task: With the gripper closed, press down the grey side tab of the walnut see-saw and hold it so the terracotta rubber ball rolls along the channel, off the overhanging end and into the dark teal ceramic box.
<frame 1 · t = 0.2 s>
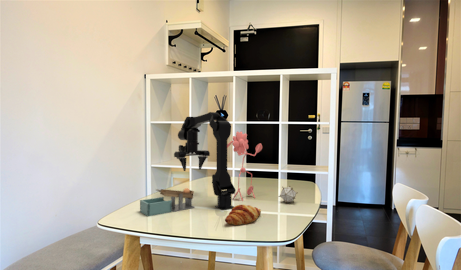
hand: (192, 170, 158), 14 cm above the table, fingers open, 9 cm apart
croissant: (244, 221, 118), on the table
figurine: (239, 197, 158), on the table
ball: (186, 191, 138), point 7 cm above the table, tilted 25°, touching lever
bin: (155, 211, 129), on the table
stand: (176, 208, 135), on the table
grey spiked polyhedron: (288, 203, 147), on the table
lever: (172, 190, 139), point 7 cm above the table, hinge at 12.0°, touching ball
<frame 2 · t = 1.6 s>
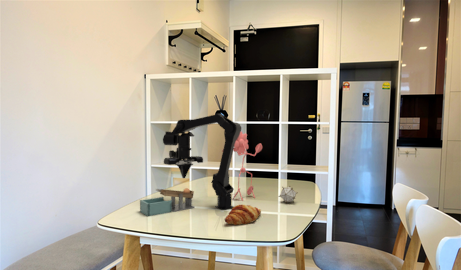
hand: (183, 178, 144), 12 cm above the table, fingers closed
nothing on the table moved.
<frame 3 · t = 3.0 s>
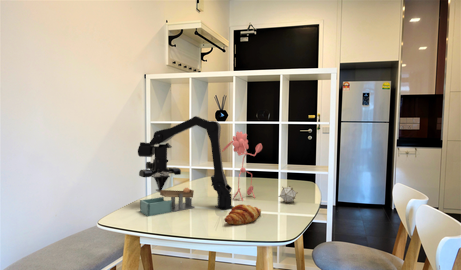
hand: (160, 190, 140), 7 cm above the table, fingers closed, pressing on lever
ball: (186, 191, 138), point 7 cm above the table, tilted 20°
lever: (172, 190, 139), point 7 cm above the table, hinge at 9.0°, touching gripper
everything else where it was.
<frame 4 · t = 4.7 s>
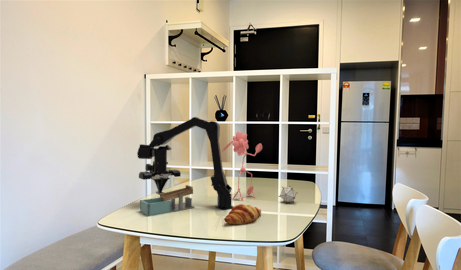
hand: (159, 192, 140), 6 cm above the table, fingers closed, pressing on lever
ball: (149, 208, 127), point 2 cm above the table, tilted 38°, touching bin
lever: (171, 190, 139), point 7 cm above the table, hinge at -6.0°, touching gripper
everything else where it was.
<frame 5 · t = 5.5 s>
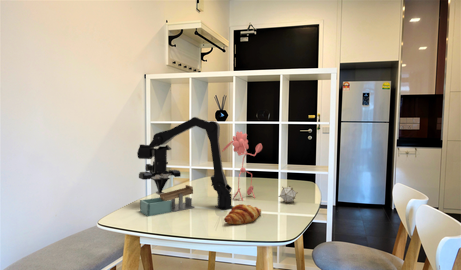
hand: (159, 192, 140), 6 cm above the table, fingers closed, pressing on lever
ball: (149, 208, 127), point 2 cm above the table, tilted 46°, touching bin
lever: (171, 190, 139), point 7 cm above the table, hinge at -6.5°, touching gripper
everything else where it was.
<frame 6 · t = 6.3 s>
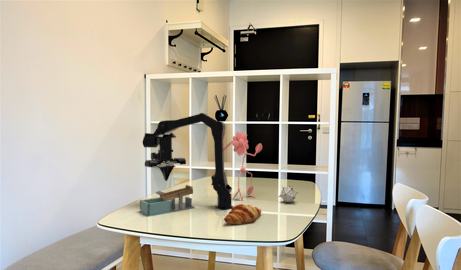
hand: (166, 180, 141), 12 cm above the table, fingers closed
ball: (150, 208, 128), point 2 cm above the table, tilted 53°, touching bin
lever: (171, 190, 139), point 7 cm above the table, hinge at -6.6°
everything else where it was.
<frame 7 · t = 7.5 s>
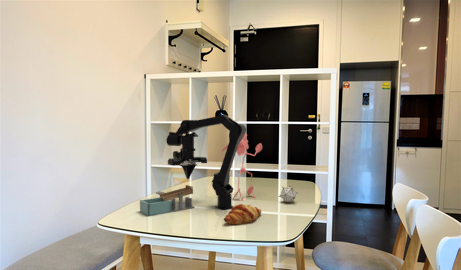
hand: (187, 178, 143), 12 cm above the table, fingers closed
ball: (150, 207, 128), point 2 cm above the table, tilted 64°, touching bin
everything else where it was.
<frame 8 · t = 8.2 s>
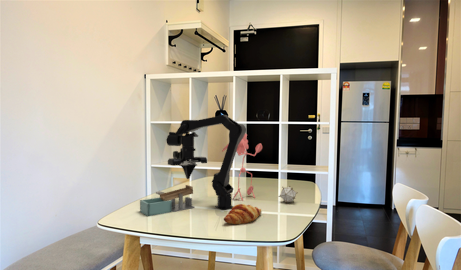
hand: (187, 178, 143), 12 cm above the table, fingers closed
ball: (151, 207, 128), point 2 cm above the table, tilted 70°, touching bin
everything else where it was.
at the end: ball inside the target area on the bin (2.1 cm from its centre), point 2.1 cm above the bin's base; ball touching bin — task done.
